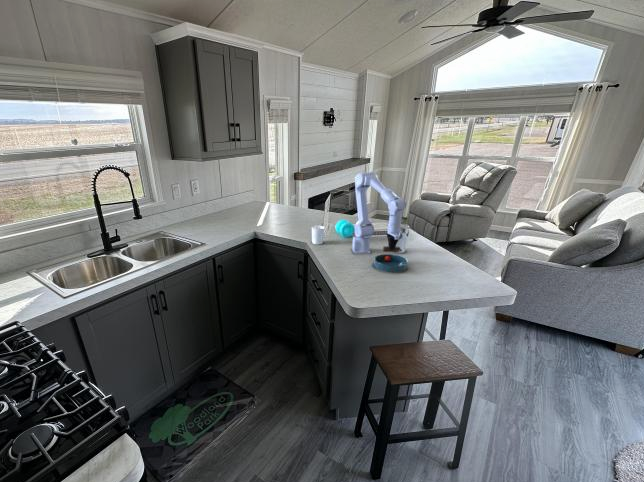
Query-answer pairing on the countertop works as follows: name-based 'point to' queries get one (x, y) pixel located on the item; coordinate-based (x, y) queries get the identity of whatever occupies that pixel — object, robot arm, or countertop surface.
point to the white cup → (317, 234)
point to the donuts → (345, 228)
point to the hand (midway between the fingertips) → (391, 248)
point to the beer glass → (403, 237)
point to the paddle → (387, 249)
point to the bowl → (390, 263)
